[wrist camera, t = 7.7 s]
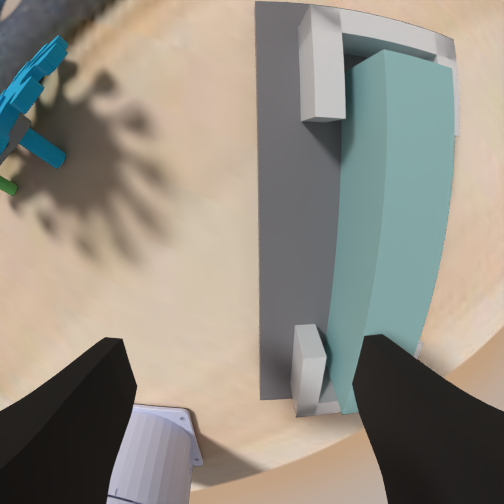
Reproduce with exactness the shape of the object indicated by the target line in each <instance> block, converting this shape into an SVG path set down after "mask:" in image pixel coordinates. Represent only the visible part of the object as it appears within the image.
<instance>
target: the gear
mask: <svg viewBox="0 0 504 504" xmlns="http://www.w3.org/2000/svg"><path fill="white" fill-rule="evenodd" d="M67 46H68V43H67V42H66V41H65V40H64V39H63V38H61V37H60V36H59V35H58V36H57V37H56V38H55V39H54V40H53V41H52V42H51V43H50V44H48V43H47V44H46V45H44V46H43V47H42V48H41V49H40V51H39V52H38V53H37V54H36V55H35V56H34V58H33V59H32V60H31V61H30V62H27V63H26V64H25V66H24V67H23V68H22V69H21V70H20V71H19V72H18V74H17V75H16V77H15V78H14V80H13V81H12V83H11V84H10V86H9V87H8V89H5V90H4V91H3V93H2V94H1V95H0V165H1V164H2V163H3V161H4V160H5V159H6V158H7V157H8V155H9V154H10V153H11V152H12V151H13V150H14V148H15V147H16V146H17V145H18V144H20V145H22V146H23V147H24V148H26V149H27V150H29V151H30V152H32V153H33V154H35V155H36V156H38V157H39V158H41V159H42V160H44V161H45V162H47V163H48V164H50V165H51V166H53V167H54V168H56V169H57V168H59V167H60V166H61V165H62V163H63V162H64V160H65V157H66V153H64V152H63V151H62V150H60V149H59V148H57V147H56V146H55V145H53V144H52V143H51V142H49V141H48V140H46V139H45V138H44V137H42V136H41V135H39V134H38V133H37V132H35V131H34V130H33V129H31V128H30V124H31V121H30V120H29V119H28V118H26V117H25V116H24V115H22V114H26V113H27V111H28V110H29V109H30V108H31V106H32V105H33V103H34V102H35V101H36V99H37V98H38V97H39V95H40V94H41V93H42V91H43V90H44V87H43V86H42V85H41V84H40V83H39V81H40V80H41V79H42V78H43V77H44V76H45V75H47V76H48V75H50V74H51V73H52V72H53V71H54V70H55V69H56V68H57V67H58V66H59V64H60V63H61V62H62V60H63V59H64V58H65V56H66V55H67V52H66V51H65V50H66V48H67ZM19 111H20V112H21V113H22V114H21V113H20V112H19ZM0 189H1V190H3V191H4V192H6V193H8V194H10V195H12V196H13V195H14V194H15V192H16V190H17V185H15V184H14V183H12V182H10V181H8V180H7V179H5V178H3V177H2V176H0Z"/></svg>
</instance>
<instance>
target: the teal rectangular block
mask: <svg viewBox="0 0 504 504" xmlns="http://www.w3.org/2000/svg"><path fill="white" fill-rule="evenodd" d="M344 76H345V110H346V119H342V120H341V177H340V200H339V217H338V232H337V244H336V256H335V267H334V276H333V286H332V295H331V303H330V311H329V319H328V326H327V333H326V340H325V347H324V351H325V354H326V357H327V358H326V366H327V369H328V372H329V375H330V378H331V381H332V384H333V387H334V390H335V394H336V397H337V400H338V403H339V406H340V410H341V413H342V415H345V414H351V413H357V412H359V411H358V408H357V404H356V400H355V396H354V391H353V387H352V381H353V378H354V374H355V371H356V367H357V363H358V359H359V355H360V351H361V347H362V343H363V339H364V336H367V335H377V334H383V335H385V336H386V337H388V338H389V339H391V340H392V341H393V342H395V343H396V344H397V345H399V346H400V347H401V348H403V349H404V350H405V351H407V352H408V353H409V354H411V355H412V356H414V354H415V351H416V348H417V345H418V342H419V339H420V336H421V333H422V330H423V326H424V323H425V320H426V316H427V313H428V309H429V306H430V302H431V298H432V295H433V291H434V287H435V283H436V278H437V274H438V270H439V265H440V260H441V255H442V250H443V245H444V239H445V233H446V227H447V221H448V214H449V206H450V197H451V188H452V177H453V162H454V137H455V113H454V88H453V74H452V68H449V67H446V66H443V65H440V64H437V63H434V62H431V61H428V60H424V59H421V58H417V57H414V56H410V55H406V54H402V53H398V52H394V51H389V50H385V49H383V50H382V51H380V52H378V53H376V54H375V55H373V56H371V57H369V58H368V59H366V60H364V61H363V62H361V63H359V64H358V65H356V66H354V67H353V68H351V69H349V70H348V71H346V72H345V73H344Z"/></svg>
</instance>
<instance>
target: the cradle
mask: <svg viewBox="0 0 504 504" xmlns="http://www.w3.org/2000/svg"><path fill="white" fill-rule="evenodd" d="M255 48H256V95H257V151H258V223H259V336H260V400H276V399H292V398H293V403H294V409H295V415H296V417H306V416H315V415H324V414H332V413H339V412H341V410H340V406H339V403H338V400H337V397H336V394H335V390H334V387H333V384H332V381H331V378H330V375H329V372H328V369H327V366H326V358H327V357H326V354H325V351H324V347H325V340H326V333H327V326H328V319H329V311H330V303H331V295H332V286H333V276H334V267H335V256H336V244H337V232H338V217H339V200H340V177H341V120H342V119H346V110H345V76H344V73H345V72H346V71H348V70H349V69H351V68H353V67H354V66H356V65H358V64H359V63H361V62H363V61H364V60H366V59H368V58H369V57H371V56H373V55H375V54H376V53H378V52H380V51H382V50H383V49H385V50H389V51H394V52H398V53H402V54H406V55H410V56H414V57H417V58H421V59H424V60H428V61H431V62H434V63H437V64H440V65H443V66H446V67H449V68H452V74H453V88H454V113H455V136H457V137H460V99H459V82H458V71H457V61H456V53H455V46H454V39H451V38H448V37H447V36H444V35H442V34H439V33H436V32H434V31H431V30H428V29H425V28H422V27H419V26H415V25H412V24H409V23H405V22H402V21H398V20H395V19H391V18H387V17H383V16H379V15H374V14H370V13H365V12H360V11H355V10H349V9H343V8H337V7H330V6H322V5H313V4H303V3H290V2H267V1H255ZM422 345H423V343H422V341H421V340H420V339H419V342H418V345H417V348H416V351H415V354H414V356H413V357H415V358H416V359H418V357H419V354H420V351H421V348H422Z"/></svg>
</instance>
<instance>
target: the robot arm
mask: <svg viewBox="0 0 504 504" xmlns="http://www.w3.org/2000/svg"><path fill="white" fill-rule="evenodd" d="M352 387H353V391H354V396H355V400H356V404H357V408H358V411H359V414H360V417H361V419H362V422H363V425H364V427H365V430H366V432H367V435H368V438H369V440H370V443H371V445H372V448H373V451H374V453H375V456H376V459H377V461H378V464H379V467H380V470H381V473H382V476H383V481H384V486H385V490H386V495H387V500H388V504H504V411H501V410H499V409H497V408H495V407H492V406H490V405H488V404H486V403H484V402H482V401H481V400H479V399H476V398H475V397H473V396H471V395H469V394H468V393H466V392H464V391H463V390H461V389H459V388H458V387H456V386H455V385H453V384H452V383H450V382H448V381H447V380H445V379H444V378H442V377H441V376H440V375H438V374H437V373H435V372H434V371H432V370H431V369H430V368H428V367H427V366H426V365H424V364H423V363H421V362H420V361H419V360H417V359H416V358H415V357H413V356H412V355H411V354H409V353H408V352H407V351H405V350H404V349H403V348H401V347H400V346H399V345H397V344H396V343H395V342H393V341H392V340H391V339H389V338H388V337H386V336H385V335H383V334H377V335H367V336H364V339H363V343H362V347H361V351H360V355H359V359H358V363H357V367H356V371H355V374H354V378H353V381H352ZM136 390H137V384H136V381H135V378H134V375H133V372H132V369H131V366H130V363H129V359H128V356H127V353H126V349H125V346H124V342H123V339H120V338H108V337H105V338H103V339H102V340H100V341H99V342H97V343H96V344H95V345H93V346H92V347H91V348H90V349H88V350H87V351H86V352H84V353H83V354H82V355H81V356H79V357H78V358H77V359H76V360H74V361H73V362H72V363H70V364H69V365H68V366H67V367H65V368H64V369H63V370H62V371H60V372H59V373H58V374H56V375H55V376H54V377H52V378H51V379H50V380H48V381H47V382H45V383H44V384H43V385H41V386H40V387H38V388H37V389H36V390H34V391H33V392H31V393H30V394H28V395H27V396H25V397H24V398H22V399H21V400H19V401H17V402H16V403H14V404H12V405H10V406H9V407H7V408H5V409H3V410H1V411H0V504H189V497H190V488H191V479H192V471H193V466H202V465H203V459H202V456H201V452H200V449H199V446H198V442H197V439H196V435H195V432H194V428H193V425H192V421H191V417H190V414H189V411H188V410H186V409H183V408H169V407H157V406H147V405H138V404H134V400H135V395H136Z"/></svg>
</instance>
